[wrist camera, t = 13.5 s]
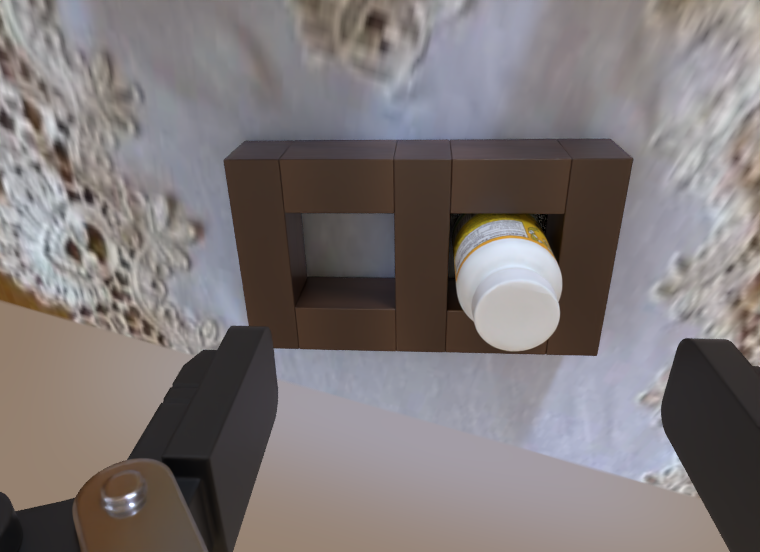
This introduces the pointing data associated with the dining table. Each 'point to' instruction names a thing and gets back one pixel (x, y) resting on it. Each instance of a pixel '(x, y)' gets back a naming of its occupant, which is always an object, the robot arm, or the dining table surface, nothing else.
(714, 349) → the robot arm
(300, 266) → the holder
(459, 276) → the supplement bottle
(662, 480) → the dining table surface
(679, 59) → the dining table surface
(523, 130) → the dining table surface
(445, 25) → the dining table surface
